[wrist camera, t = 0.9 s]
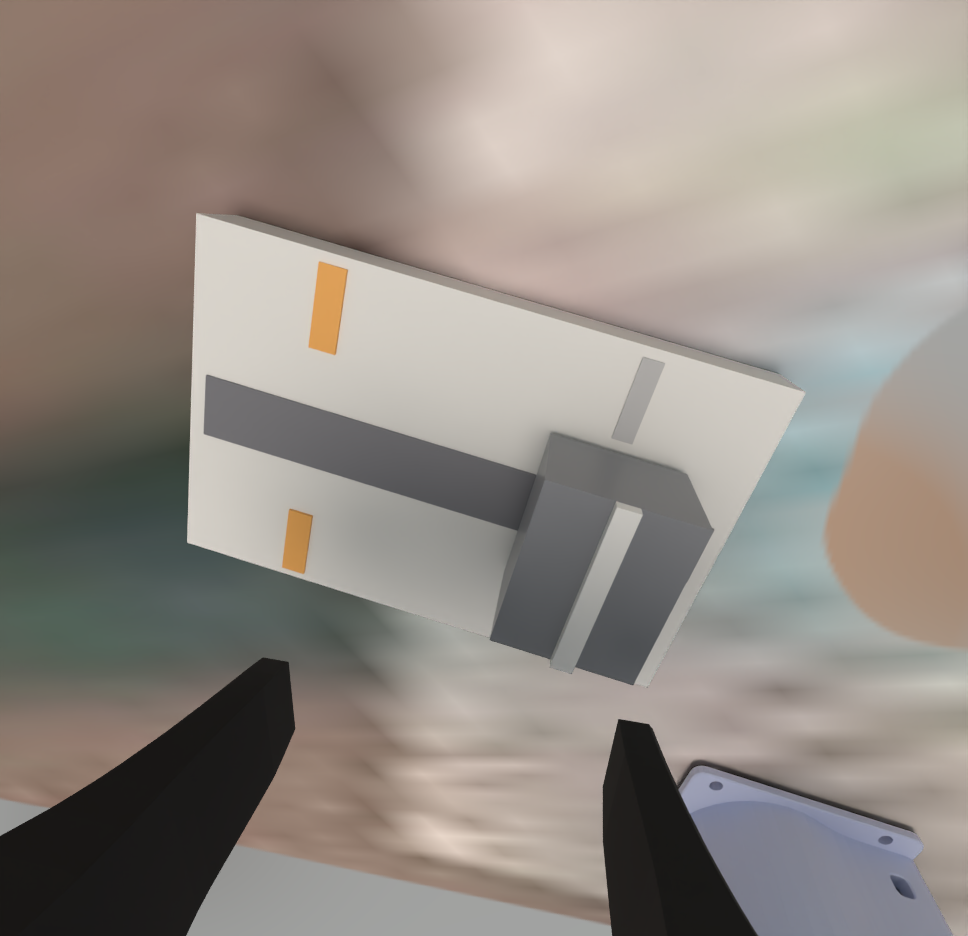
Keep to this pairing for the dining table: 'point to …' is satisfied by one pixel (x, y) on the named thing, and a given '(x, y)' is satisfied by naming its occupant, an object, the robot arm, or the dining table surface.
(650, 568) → the fader cap
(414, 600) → the console
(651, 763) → the robot arm
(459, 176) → the dining table surface
